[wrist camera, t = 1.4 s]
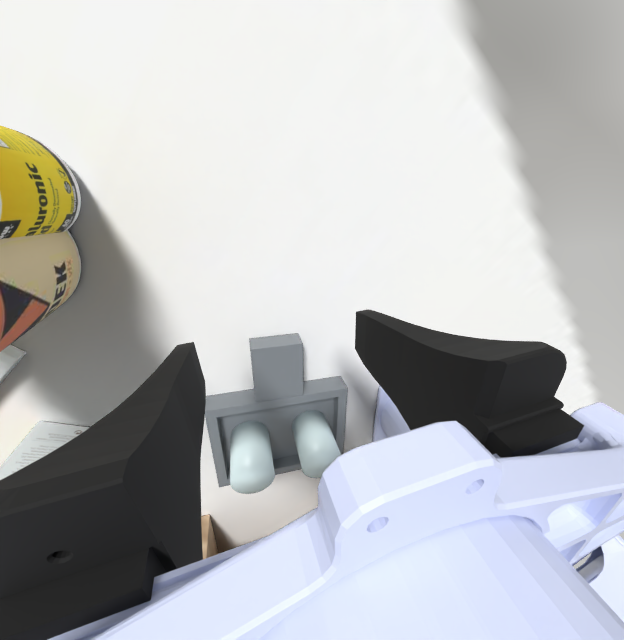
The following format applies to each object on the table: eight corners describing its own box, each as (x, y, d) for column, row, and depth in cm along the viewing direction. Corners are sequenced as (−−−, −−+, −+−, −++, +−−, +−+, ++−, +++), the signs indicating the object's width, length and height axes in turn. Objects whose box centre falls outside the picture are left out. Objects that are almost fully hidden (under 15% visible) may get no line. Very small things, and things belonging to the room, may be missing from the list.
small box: (39, 417, 21) (-112, 592, 12) (124, 429, 23) (51, 586, 14) (23, 492, 23) (-116, 690, 14) (101, 497, 25) (25, 672, 16)
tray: (343, 328, 25) (368, 359, 20) (336, 445, 30) (354, 490, 26) (196, 344, 22) (187, 385, 17) (220, 469, 28) (217, 524, 23)
